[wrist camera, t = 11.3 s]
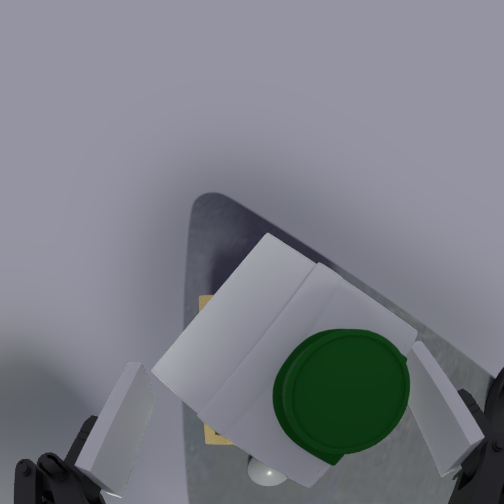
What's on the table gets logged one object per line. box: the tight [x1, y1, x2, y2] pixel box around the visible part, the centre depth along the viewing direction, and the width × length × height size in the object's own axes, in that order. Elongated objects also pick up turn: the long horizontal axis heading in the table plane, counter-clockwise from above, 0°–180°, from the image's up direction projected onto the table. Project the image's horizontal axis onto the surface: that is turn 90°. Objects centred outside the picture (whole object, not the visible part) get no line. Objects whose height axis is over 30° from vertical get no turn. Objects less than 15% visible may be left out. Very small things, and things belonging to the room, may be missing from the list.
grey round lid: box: [248, 457, 288, 486], centre depth 24 cm, size 5×5×1 cm
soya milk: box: [151, 233, 418, 487], centre depth 16 cm, size 9×9×20 cm
